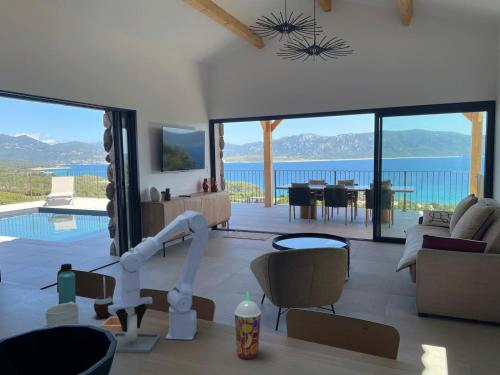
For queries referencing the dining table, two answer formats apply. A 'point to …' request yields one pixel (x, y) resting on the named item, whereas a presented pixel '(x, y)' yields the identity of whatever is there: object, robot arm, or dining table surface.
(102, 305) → the mate gourd
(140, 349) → the tray
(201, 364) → the dining table surface
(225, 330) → the dining table surface
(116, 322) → the shallow square box
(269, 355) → the dining table surface
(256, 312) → the smoothie
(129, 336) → the peg
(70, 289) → the beverage bottle
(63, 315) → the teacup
